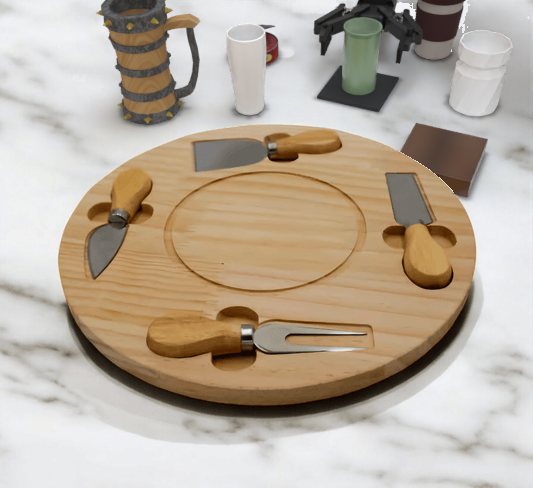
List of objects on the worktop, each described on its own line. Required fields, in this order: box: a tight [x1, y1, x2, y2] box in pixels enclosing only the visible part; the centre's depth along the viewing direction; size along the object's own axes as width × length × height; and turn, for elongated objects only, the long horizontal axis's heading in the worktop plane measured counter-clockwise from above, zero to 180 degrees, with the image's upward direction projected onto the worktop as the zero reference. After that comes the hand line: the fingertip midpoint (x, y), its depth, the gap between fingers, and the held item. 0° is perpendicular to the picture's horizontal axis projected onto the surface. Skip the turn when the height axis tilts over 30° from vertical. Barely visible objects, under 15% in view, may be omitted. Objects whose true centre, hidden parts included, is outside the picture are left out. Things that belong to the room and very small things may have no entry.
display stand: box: [399, 122, 489, 198], centre depth 105 cm, size 12×12×3 cm
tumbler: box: [341, 17, 383, 95], centre depth 119 cm, size 7×7×12 cm
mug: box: [96, 0, 201, 125], centre depth 114 cm, size 13×17×20 cm
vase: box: [448, 29, 514, 117], centre depth 114 cm, size 9×9×12 cm
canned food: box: [258, 24, 280, 67], centre depth 132 cm, size 11×10×10 cm
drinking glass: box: [225, 22, 267, 116], centre depth 115 cm, size 7×7×15 cm
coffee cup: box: [414, 0, 467, 61], centre depth 127 cm, size 10×10×15 cm
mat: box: [316, 64, 400, 113], centre depth 123 cm, size 12×12×1 cm
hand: (360, 52), depth 116 cm, fingers open, 13 cm apart
